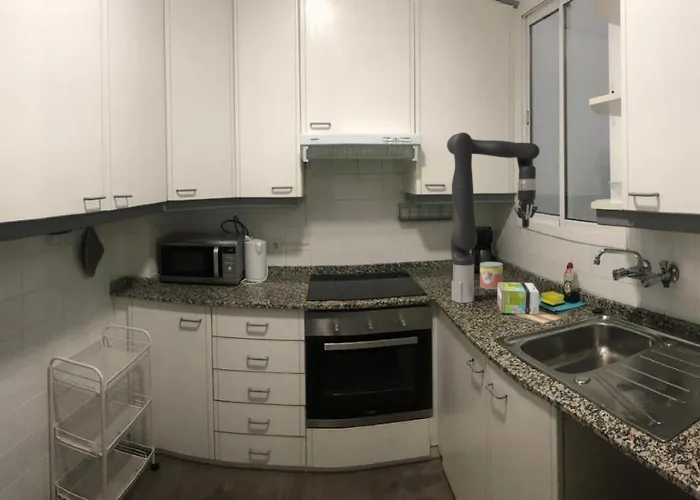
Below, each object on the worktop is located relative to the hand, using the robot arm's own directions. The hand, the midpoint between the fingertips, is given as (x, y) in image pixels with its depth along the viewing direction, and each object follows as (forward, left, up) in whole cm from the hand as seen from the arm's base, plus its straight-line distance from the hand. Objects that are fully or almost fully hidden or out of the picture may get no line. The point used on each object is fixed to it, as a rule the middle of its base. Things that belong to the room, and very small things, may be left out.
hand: (525, 227), depth 196 cm
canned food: (+4, +24, -33) cm, 41 cm away
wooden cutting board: (-19, -20, -33) cm, 43 cm away
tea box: (-13, -17, -27) cm, 35 cm away
